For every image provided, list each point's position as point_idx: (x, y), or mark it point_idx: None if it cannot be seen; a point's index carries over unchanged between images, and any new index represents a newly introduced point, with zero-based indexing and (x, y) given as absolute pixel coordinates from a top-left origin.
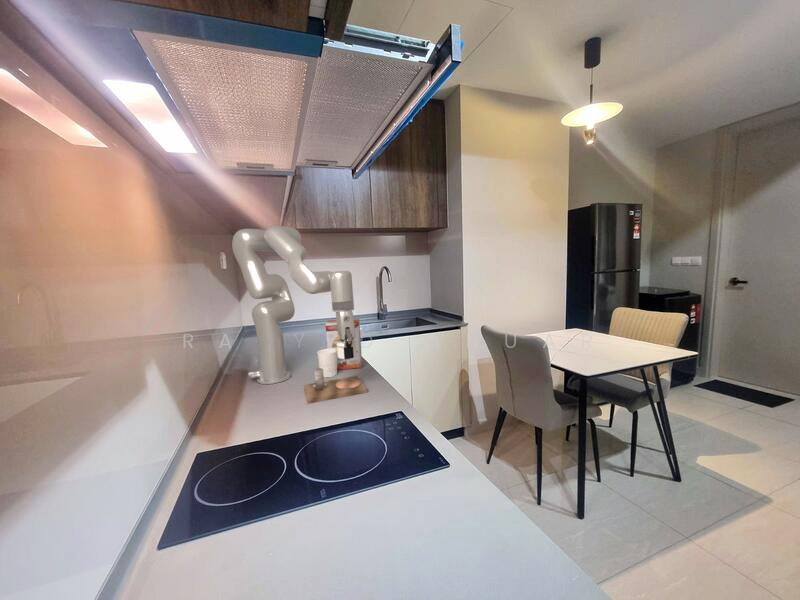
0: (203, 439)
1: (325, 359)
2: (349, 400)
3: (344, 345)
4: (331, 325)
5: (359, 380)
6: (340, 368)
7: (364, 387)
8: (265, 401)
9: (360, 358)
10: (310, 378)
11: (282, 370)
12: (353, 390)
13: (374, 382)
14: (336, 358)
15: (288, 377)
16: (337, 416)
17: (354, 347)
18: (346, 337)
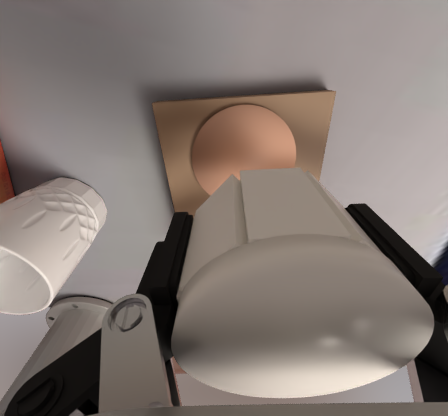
0: None
1: (70, 267)
2: (351, 167)
3: (420, 365)
4: None
5: (231, 107)
6: (3, 160)
7: (319, 99)
8: None
9: None
10: (105, 255)
11: (92, 332)
12: (321, 151)
13: (225, 15)
14: (26, 215)
15: (99, 302)
16: (426, 210)
17: (362, 233)
18: (169, 390)
